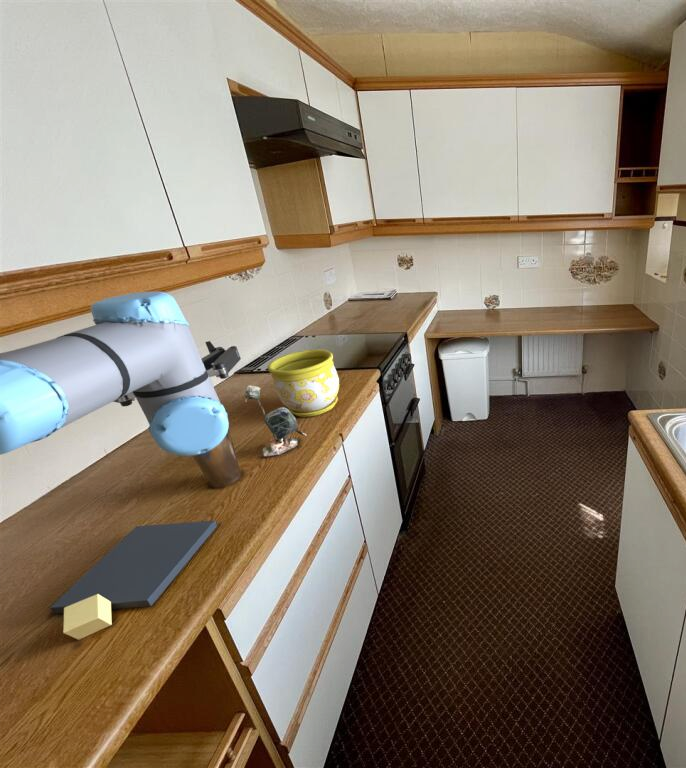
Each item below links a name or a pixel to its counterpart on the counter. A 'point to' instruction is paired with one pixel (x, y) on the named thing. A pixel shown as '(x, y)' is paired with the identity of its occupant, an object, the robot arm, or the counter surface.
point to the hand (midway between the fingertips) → (166, 358)
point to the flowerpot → (306, 382)
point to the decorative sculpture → (276, 426)
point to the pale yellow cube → (87, 616)
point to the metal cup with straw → (220, 463)
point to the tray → (139, 565)
